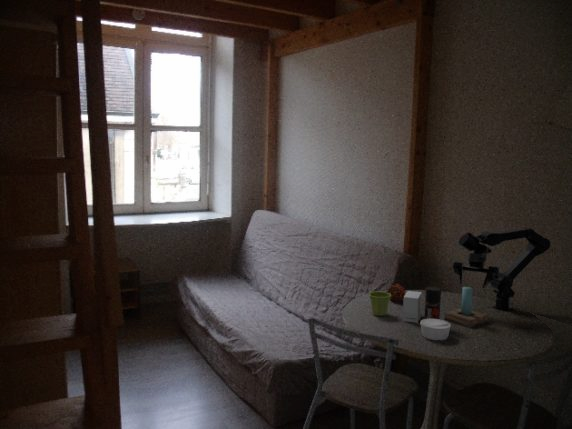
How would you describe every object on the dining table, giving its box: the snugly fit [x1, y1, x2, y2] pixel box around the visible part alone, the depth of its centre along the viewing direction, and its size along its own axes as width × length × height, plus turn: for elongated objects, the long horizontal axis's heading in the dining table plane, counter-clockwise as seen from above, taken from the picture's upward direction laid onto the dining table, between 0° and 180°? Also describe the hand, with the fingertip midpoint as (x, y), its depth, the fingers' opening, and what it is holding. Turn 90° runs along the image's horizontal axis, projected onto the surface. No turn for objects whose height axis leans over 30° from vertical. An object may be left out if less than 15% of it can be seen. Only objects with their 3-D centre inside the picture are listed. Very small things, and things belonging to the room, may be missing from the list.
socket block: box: [444, 307, 488, 328], centre depth 217 cm, size 12×12×3 cm
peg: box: [460, 286, 474, 317], centre depth 217 cm, size 4×4×13 cm
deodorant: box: [423, 286, 442, 320], centre depth 211 cm, size 6×6×15 cm
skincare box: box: [402, 290, 423, 324], centre depth 219 cm, size 10×6×10 cm, turn 157°
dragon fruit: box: [385, 283, 406, 303], centre depth 246 cm, size 8×8×12 cm
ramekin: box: [419, 319, 451, 341], centre depth 198 cm, size 11×11×5 cm
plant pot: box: [368, 291, 391, 317], centre depth 224 cm, size 9×9×9 cm
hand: (471, 286), depth 222 cm, fingers open, 9 cm apart
